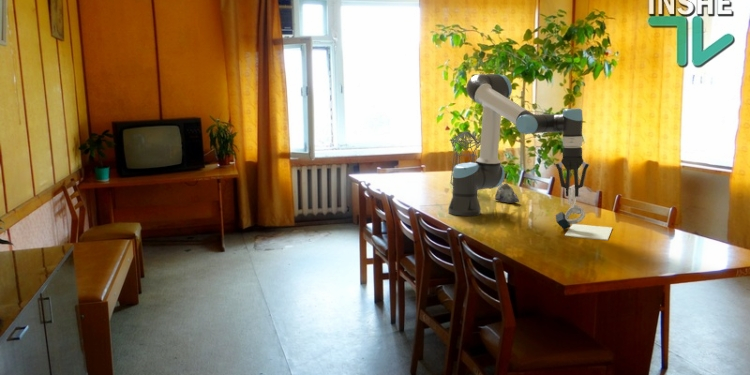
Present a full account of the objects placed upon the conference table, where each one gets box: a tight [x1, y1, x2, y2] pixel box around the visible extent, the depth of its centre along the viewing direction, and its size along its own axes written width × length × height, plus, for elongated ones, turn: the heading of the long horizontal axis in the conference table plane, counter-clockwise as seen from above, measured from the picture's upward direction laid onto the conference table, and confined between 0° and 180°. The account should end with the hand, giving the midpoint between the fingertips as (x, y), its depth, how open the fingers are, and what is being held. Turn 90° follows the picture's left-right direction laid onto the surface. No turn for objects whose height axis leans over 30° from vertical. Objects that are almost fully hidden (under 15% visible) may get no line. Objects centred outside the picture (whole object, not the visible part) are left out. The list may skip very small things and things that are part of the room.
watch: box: [555, 204, 586, 231], centre depth 239 cm, size 6×8×11 cm
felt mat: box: [564, 223, 613, 241], centre depth 237 cm, size 16×22×1 cm
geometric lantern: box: [449, 131, 481, 187], centre depth 328 cm, size 16×16×35 cm
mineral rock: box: [494, 183, 520, 204], centre depth 300 cm, size 13×11×10 cm
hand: (572, 204), depth 238 cm, fingers closed
